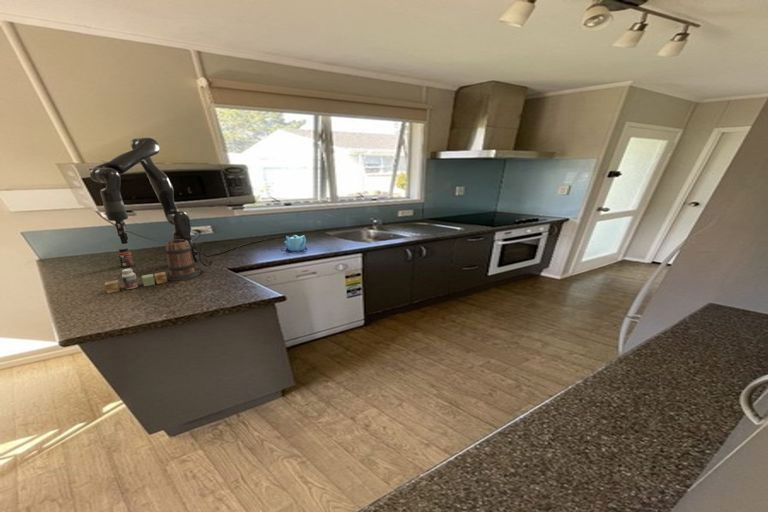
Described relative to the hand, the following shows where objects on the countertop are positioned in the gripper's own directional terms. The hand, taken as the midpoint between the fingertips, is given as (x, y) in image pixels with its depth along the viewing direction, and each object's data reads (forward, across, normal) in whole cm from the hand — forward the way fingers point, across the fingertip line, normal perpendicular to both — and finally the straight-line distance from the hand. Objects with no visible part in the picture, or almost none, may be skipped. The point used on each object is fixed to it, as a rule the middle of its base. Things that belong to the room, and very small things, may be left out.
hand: (125, 241), depth 145 cm
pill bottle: (+23, -5, +2) cm, 24 cm away
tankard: (+24, 0, -24) cm, 34 cm away
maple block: (+23, -5, -10) cm, 26 cm away
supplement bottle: (+24, +37, +5) cm, 44 cm away
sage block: (+23, -5, -5) cm, 24 cm away
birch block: (+23, -5, +9) cm, 25 cm away
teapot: (+25, +10, -93) cm, 97 cm away
